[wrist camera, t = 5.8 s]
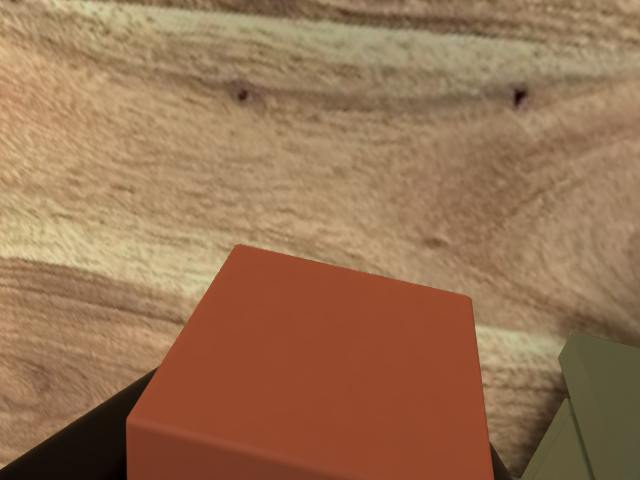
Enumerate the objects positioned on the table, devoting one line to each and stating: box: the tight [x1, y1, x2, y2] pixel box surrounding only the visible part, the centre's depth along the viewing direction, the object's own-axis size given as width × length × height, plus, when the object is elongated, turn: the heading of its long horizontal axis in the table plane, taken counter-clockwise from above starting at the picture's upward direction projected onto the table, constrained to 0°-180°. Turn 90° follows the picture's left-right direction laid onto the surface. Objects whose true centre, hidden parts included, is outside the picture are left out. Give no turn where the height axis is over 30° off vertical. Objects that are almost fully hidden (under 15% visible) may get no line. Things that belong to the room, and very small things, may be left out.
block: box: [126, 244, 494, 480], centre depth 8 cm, size 4×4×4 cm
